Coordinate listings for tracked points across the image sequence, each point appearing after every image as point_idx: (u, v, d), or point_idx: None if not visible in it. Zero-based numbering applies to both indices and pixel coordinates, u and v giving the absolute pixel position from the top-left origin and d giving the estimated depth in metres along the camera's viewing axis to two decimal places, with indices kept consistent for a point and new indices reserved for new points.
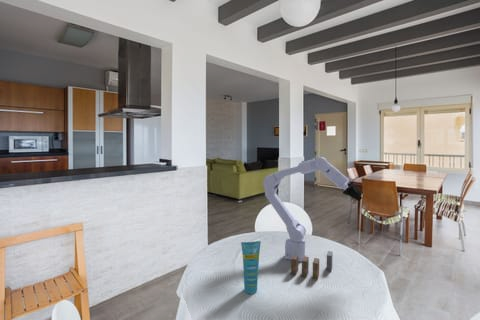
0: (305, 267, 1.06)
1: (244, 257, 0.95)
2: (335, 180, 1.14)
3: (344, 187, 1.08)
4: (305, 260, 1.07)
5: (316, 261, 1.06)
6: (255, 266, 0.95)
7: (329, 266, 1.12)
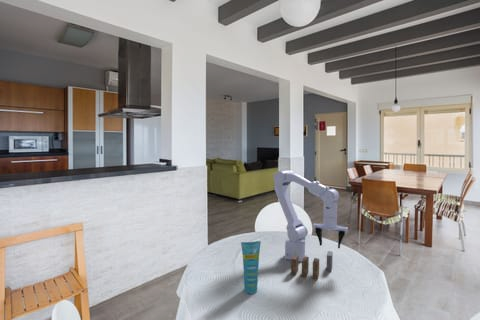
0: (305, 267, 1.06)
1: (244, 257, 0.95)
2: None
3: (313, 225, 1.16)
4: (305, 260, 1.07)
5: (316, 261, 1.06)
6: (255, 266, 0.95)
7: (329, 266, 1.12)
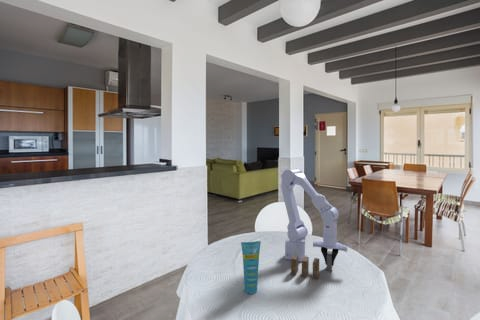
0: (305, 267, 1.06)
1: (244, 257, 0.95)
2: None
3: (313, 243, 1.17)
4: (305, 260, 1.07)
5: (316, 261, 1.06)
6: (255, 266, 0.95)
7: (329, 266, 1.12)
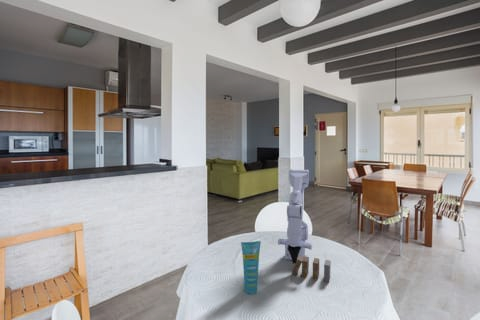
0: (305, 267, 1.06)
1: (244, 257, 0.95)
2: None
3: None
4: (305, 260, 1.07)
5: (316, 261, 1.06)
6: (255, 266, 0.95)
7: (327, 277, 1.03)
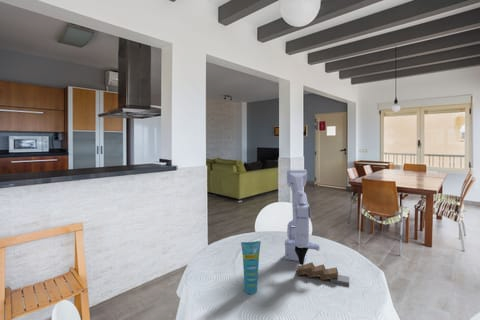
0: (317, 274, 1.04)
1: (244, 257, 0.95)
2: None
3: None
4: (323, 271, 1.04)
5: (337, 273, 1.03)
6: (255, 266, 0.95)
7: (335, 283, 1.02)
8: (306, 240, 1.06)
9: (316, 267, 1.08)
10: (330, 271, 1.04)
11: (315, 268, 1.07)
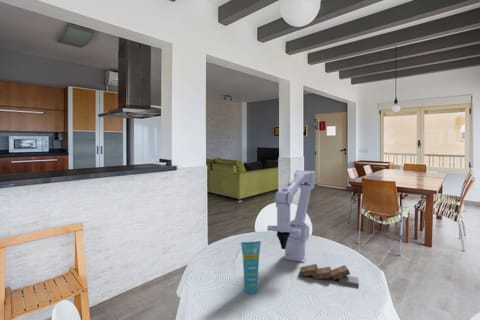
0: (324, 276, 1.03)
1: (244, 257, 0.95)
2: None
3: None
4: (330, 274, 1.03)
5: None
6: (255, 266, 0.95)
7: (345, 284, 1.01)
8: (287, 225, 1.09)
9: (322, 269, 1.07)
10: (341, 269, 1.05)
11: (321, 270, 1.06)
